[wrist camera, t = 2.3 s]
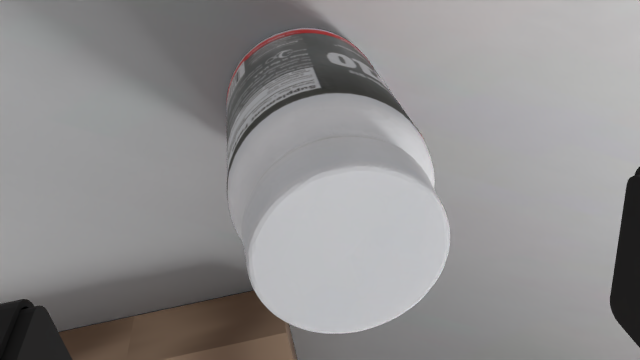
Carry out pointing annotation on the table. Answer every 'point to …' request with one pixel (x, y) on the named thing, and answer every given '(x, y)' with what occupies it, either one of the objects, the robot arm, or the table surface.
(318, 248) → the pill bottle
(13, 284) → the table surface
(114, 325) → the socket block
